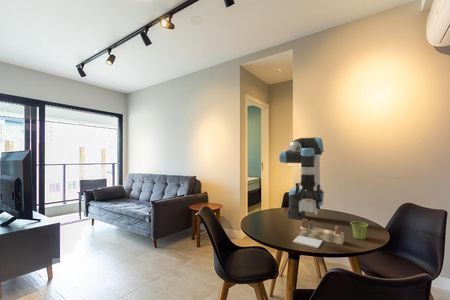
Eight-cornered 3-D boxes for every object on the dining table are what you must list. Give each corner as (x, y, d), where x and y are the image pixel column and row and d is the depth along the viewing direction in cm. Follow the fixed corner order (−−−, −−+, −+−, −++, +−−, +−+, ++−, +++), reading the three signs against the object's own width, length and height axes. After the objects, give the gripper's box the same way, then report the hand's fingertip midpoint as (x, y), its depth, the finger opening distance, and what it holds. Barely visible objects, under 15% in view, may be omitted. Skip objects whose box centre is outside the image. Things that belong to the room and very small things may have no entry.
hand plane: (299, 235, 139) (299, 219, 139) (302, 232, 144) (302, 217, 144) (342, 244, 125) (342, 227, 125) (343, 241, 130) (343, 224, 130)
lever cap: (303, 207, 135) (303, 197, 135) (317, 209, 131) (316, 199, 131) (298, 210, 128) (298, 200, 128) (313, 212, 123) (313, 202, 123)
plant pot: (347, 235, 140) (347, 221, 140) (361, 234, 141) (361, 221, 141) (357, 241, 130) (357, 226, 131) (372, 240, 131) (372, 225, 131)
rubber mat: (292, 242, 129) (292, 241, 129) (298, 236, 138) (298, 235, 138) (318, 248, 120) (318, 247, 120) (322, 241, 129) (322, 240, 129)
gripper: (288, 173, 133) (288, 211, 132) (325, 175, 120) (325, 217, 120) (292, 172, 139) (292, 208, 138) (328, 174, 127) (328, 214, 126)
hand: (308, 212), depth 129 cm, fingers closed on lever cap, 8 cm apart
